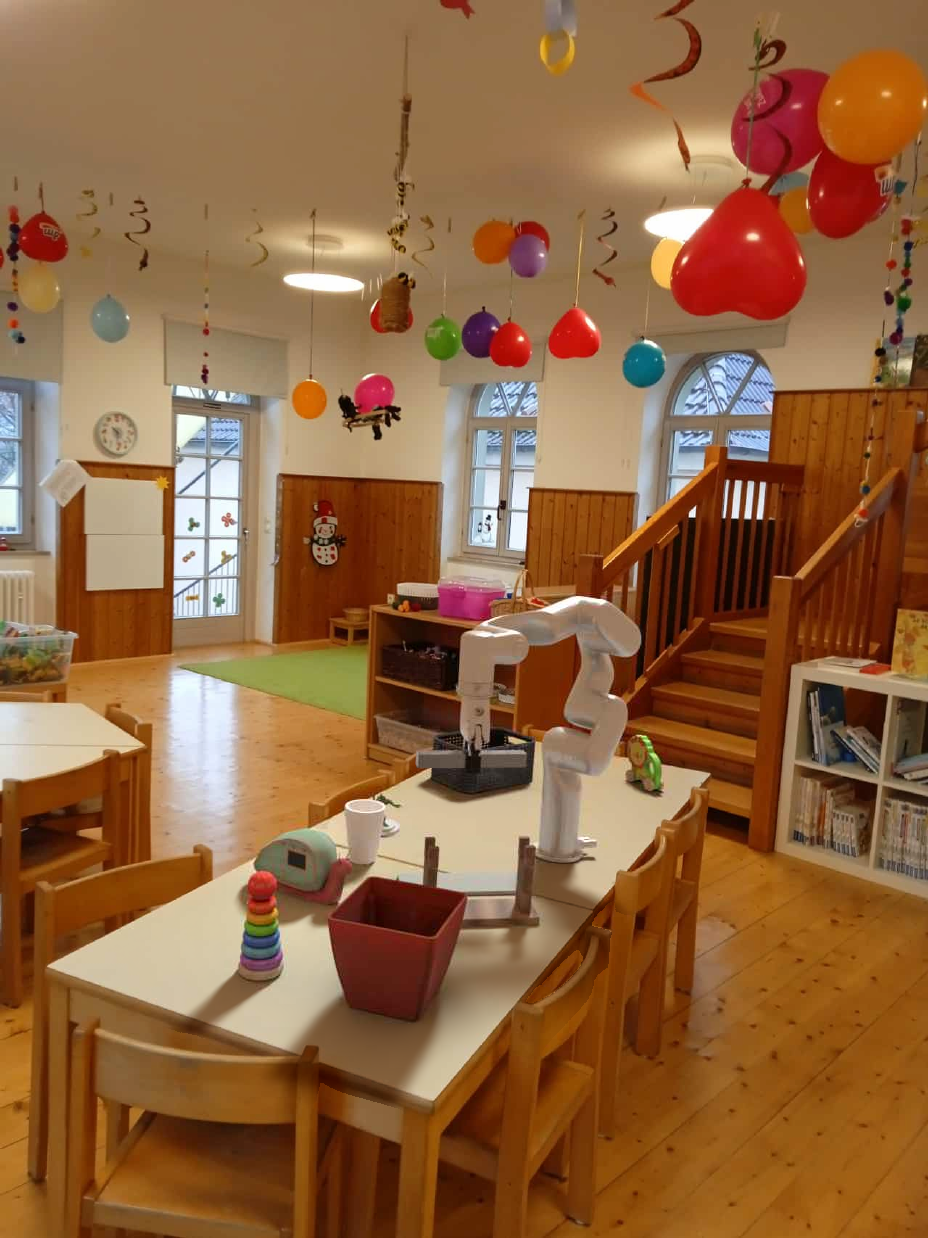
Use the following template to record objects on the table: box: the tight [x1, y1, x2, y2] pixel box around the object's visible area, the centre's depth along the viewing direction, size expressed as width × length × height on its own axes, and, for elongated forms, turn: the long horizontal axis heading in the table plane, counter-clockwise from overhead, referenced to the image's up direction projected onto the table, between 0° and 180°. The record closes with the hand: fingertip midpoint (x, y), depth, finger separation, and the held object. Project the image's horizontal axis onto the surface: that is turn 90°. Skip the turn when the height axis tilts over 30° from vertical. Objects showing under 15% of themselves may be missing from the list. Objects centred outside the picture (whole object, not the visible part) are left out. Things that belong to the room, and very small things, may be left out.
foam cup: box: [344, 798, 387, 865], centre depth 219 cm, size 10×9×13 cm
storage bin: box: [430, 726, 537, 794], centre depth 286 cm, size 29×19×13 cm
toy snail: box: [253, 827, 354, 905], centre depth 200 cm, size 25×8×14 cm, turn 58°
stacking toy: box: [237, 871, 285, 982], centre depth 166 cm, size 8×8×19 cm
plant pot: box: [327, 875, 469, 1022], centre depth 161 cm, size 19×19×17 cm
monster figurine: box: [371, 789, 403, 837], centre depth 240 cm, size 12×12×10 cm
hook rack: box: [423, 835, 541, 927], centre depth 194 cm, size 25×9×16 cm, turn 101°
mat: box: [396, 871, 517, 896], centre depth 209 cm, size 28×10×1 cm, turn 101°
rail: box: [415, 749, 527, 769], centre depth 205 cm, size 24×3×3 cm, turn 101°
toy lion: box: [625, 734, 665, 792], centre depth 291 cm, size 16×5×15 cm, turn 25°
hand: (471, 769), depth 205 cm, fingers closed on rail, 3 cm apart
